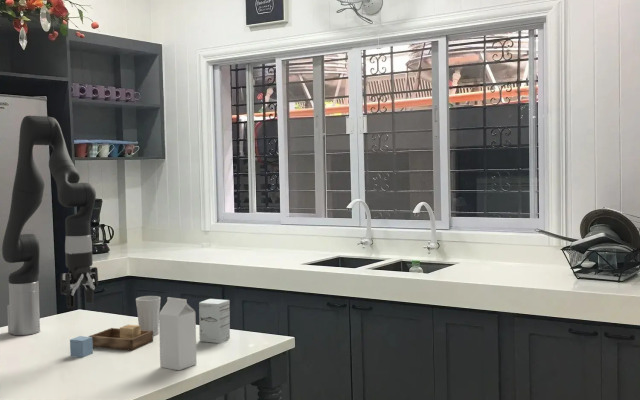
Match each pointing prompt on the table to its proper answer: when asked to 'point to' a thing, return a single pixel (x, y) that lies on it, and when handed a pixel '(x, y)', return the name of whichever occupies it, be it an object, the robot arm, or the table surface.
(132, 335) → the oak block
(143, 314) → the cup
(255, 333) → the table surface
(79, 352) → the slate block
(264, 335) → the table surface
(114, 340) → the tray
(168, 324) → the milk carton
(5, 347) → the table surface
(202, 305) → the supplement box
